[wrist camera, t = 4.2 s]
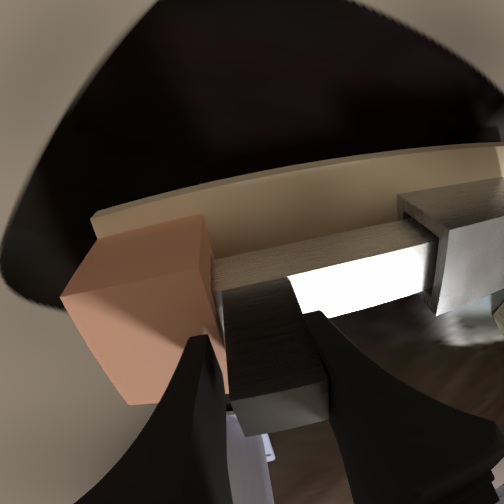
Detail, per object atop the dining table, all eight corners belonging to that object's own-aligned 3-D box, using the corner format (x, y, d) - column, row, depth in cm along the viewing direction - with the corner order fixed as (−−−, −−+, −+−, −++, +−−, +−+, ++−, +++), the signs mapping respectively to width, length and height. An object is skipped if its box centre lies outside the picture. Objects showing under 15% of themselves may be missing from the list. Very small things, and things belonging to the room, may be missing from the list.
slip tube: (442, 252, 15) (529, 335, 9) (154, 318, 15) (132, 450, 8) (446, 210, 14) (548, 285, 8) (136, 276, 14) (95, 410, 7)
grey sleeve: (494, 239, 16) (536, 272, 12) (395, 268, 16) (435, 316, 12) (502, 176, 14) (552, 202, 10) (397, 194, 14) (449, 230, 10)
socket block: (232, 321, 16) (239, 391, 12) (141, 337, 16) (128, 405, 12) (202, 213, 14) (198, 268, 9) (97, 238, 13) (59, 297, 9)
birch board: (490, 254, 18) (498, 261, 17) (150, 338, 18) (148, 350, 17) (501, 141, 14) (512, 145, 13) (97, 211, 14) (90, 219, 13)
